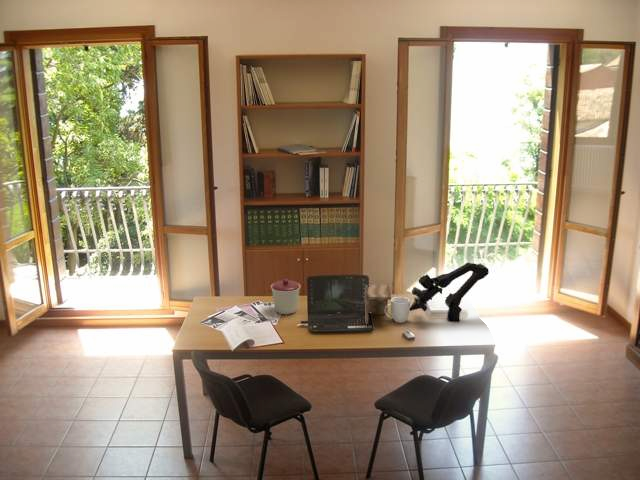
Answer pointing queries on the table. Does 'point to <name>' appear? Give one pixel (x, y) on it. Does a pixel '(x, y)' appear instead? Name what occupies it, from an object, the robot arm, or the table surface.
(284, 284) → the canister
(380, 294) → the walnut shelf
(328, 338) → the table surface
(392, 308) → the mug
